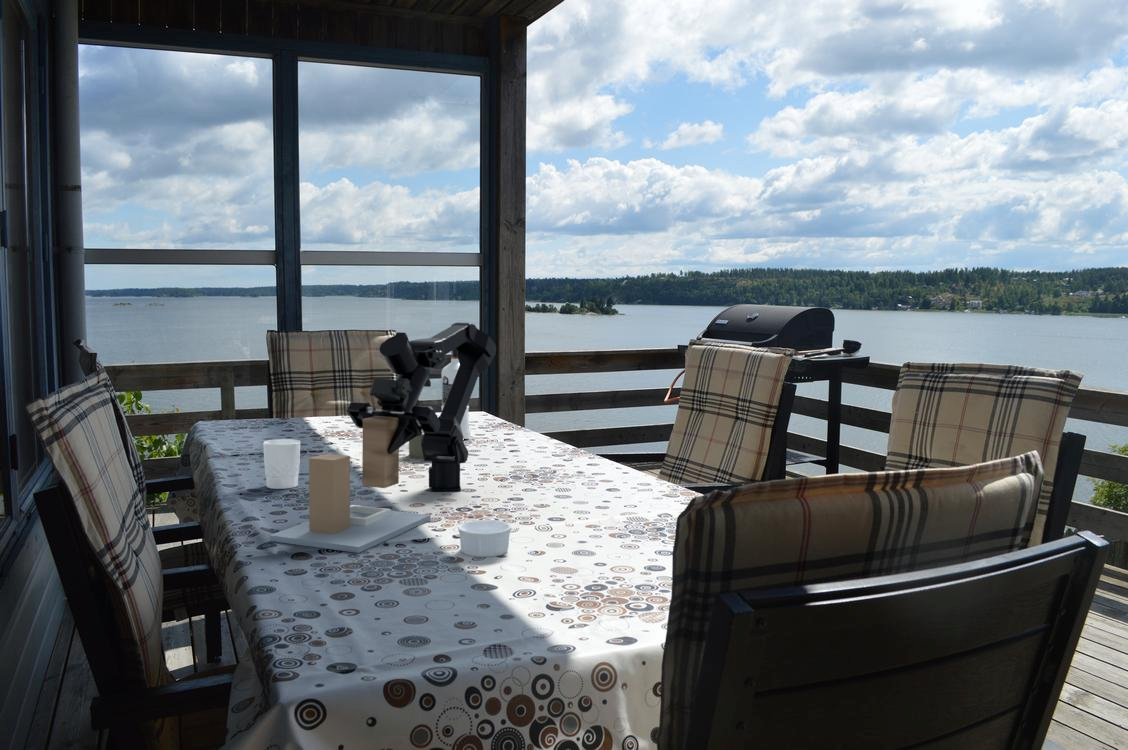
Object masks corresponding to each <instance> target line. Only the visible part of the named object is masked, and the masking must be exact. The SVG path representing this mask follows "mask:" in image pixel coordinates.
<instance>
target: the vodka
mask: <svg viewBox="0 0 1128 750" xmlns="http://www.w3.org/2000/svg"><path fill="white" fill-rule="evenodd" d="M450 353H451V355H450V357H451V360H450V363H448V364H447V365H445V366H444V367H443V368H442V370H441V373H440V374H441V411H442V410H443V407H444V404H445V402H446V399H447V397H448V394H449V392H450V389H451V386H452V384H453V381H454V379H455V376H456V374H457V371H458V368H459V365H460V364H459V360H458V357H457V351H456V350H455V349H454V350H452V351H450ZM469 409H470V406H469V404H468V405H467V408H466V411H465V413H464V416H463V419H462V422H461V425H460V426H461V430H462V434H463V439H467V440H468V439H470V437H471V429H470V422H469Z"/></svg>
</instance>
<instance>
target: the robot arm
mask: <svg viewBox="0 0 1128 750" xmlns="http://www.w3.org/2000/svg"><path fill="white" fill-rule="evenodd" d="M454 349H455V350H456V351H457V357H458V360H459V364H460V365H459V368H458V371H457V374H456V376H455V379H454V381H453V384H452V386H451V389H450V392H449V394H448V397H447V399H446V402H445V404H444V407H443V410H442V409H441V413H440V415H439V416H438V415H437V413H436V411H435V410H434V407H432V406H430V405H421V401H419V399H420V395H421V393H422V391H423V389H424V387H425V388H426V387H428V388H430V387H431V386H432V383H431V382H432V381H431V379H430V378H429V377H430V376H429V374H428V372H427V370H426V369H434V370H435V369H438V368H439V367H440V366H441V365H442V364H443V363H444V362H445V360H446V357H445V356H446V355H447V354H449V353H451V351H452V350H454ZM496 352H497V346H496V343H495V342H494V341H493V339H492V337H490V335H489V334H487V333H485V332H484V331H482V330H480V329H479V328H477V326H476V325H475V324H474V323H471V322H454V323H452V324H451V326H449V327H447V328H446V329H443V330H442V331H440V332H438V333H437V334H435V335H433V336H431V337H428V338H417V339H412V340H410V339H409V337H408V335H407V333H406V332H401V331H400V332H399V331H398V332H396V333H395V335H393V336H390V337H388V338H387V339H386V340H385V341H383V342H382V343H381V344H380V346H379V353H380V354H381V356H382V358H383V359H384V361H385V364H386V365H387V366H388V368H389V370H390V372H391V373H392V374H394V375H397V377H396V379H391V378H389V379H388V378H372V379H373V380H372V384H371V387H370V391H369V395H370V396H373V397H375V398H376V399H378V400H377V401H376V403H377V405H378V407H381V409H376V408H375V407H373V406H372V405H371V404H370V402H367V401H366V402H365V401H351V402H350V403H349V405H348V406H347V408H346V410H345V411H346V413H347V415H348V416H349V417H350V419H351V420H352V422H353V423H354V424H353V425H355V427H357V428H358V429H363V419H365V418H369V417H374V416H385V417H396V418H399V422H398V428H397V429H396V432H395V434H394V436H393V438H392V440H391V442H390V444H389V447H388V453H389V454H392V453H393V452H394V451H396V450H397V449H399V450H400V448H401V447H402V446H404V445H405V444H407V443H409V441H410V440H412V439H413V438H415V437H416V436H421V435H422V432H421V430H423V431H424V432H423V433H424V435H423V437H422V439H421V447H422V452H423V457H424V460H423V461H424V462H431V466H429V467H428V487H429V488H430V491H431V492H448V491H449V492H453V491H455V492H456V491H457V492H459V491H461V490H462V488H461V464H467V462H468V458H469V451H468V449H467V446H466V445H465V443H464V440H463V434H462V430H461V426H460V425H461V422H462V419H463V416H464V413H465V411H466V408H467V405H468V406H469V402H470V400H471V397H472V394H473V392H474V388H475V386H476V383H477V382H478V381H477V380H478V378H479V375H480V374H482V373H483V372H484V371H485V370H487V369H488V368H489V367H490V365H491V363H492V361H493V359H494V357H495V355H496V354H497V353H496Z"/></svg>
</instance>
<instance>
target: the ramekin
mask: <svg viewBox="0 0 1128 750" xmlns="http://www.w3.org/2000/svg"><path fill="white" fill-rule="evenodd" d="M457 528H458V532H459V543H460V544H459V546H460V551H461V552H462V554H464V555H466V556H470V557H473V558H474V557H475V558H476V557H477V558H493V557H498V556H502V555H505V554H506V553H507V552H508V550H509V546H510V545H509V544H510V533H511V530H512V526H511V524H510V523H508V522H505V521H502V520H497V519H496V520H494V519H479V520H478V519H477V520H476V519H475V520H471V521H466V522H462V523H461V524H459V525H458V527H457Z"/></svg>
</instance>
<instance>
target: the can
mask: <svg viewBox="0 0 1128 750" xmlns="http://www.w3.org/2000/svg"><path fill="white" fill-rule="evenodd" d="M421 432H422V435H421V436H416V437H415V438H413V439H412V440H410V441H408V457H409V458H410V457H411V458H410V459H412V458H415V459H414V460H418V459H423V460H422V461H424V457H423V452H422V447H421V439H422V437H423V435H424V433H423V432H424V431H423V430H421Z"/></svg>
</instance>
